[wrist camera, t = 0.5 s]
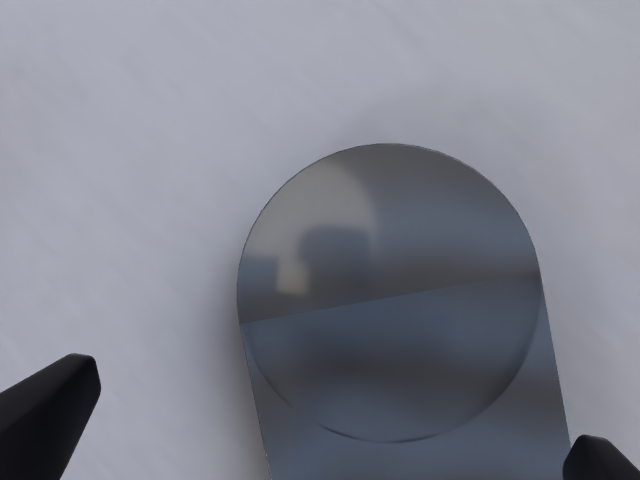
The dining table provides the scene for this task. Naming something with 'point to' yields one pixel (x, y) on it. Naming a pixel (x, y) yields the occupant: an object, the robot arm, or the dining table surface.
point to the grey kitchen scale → (399, 325)
